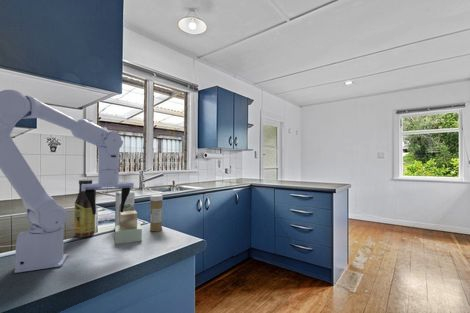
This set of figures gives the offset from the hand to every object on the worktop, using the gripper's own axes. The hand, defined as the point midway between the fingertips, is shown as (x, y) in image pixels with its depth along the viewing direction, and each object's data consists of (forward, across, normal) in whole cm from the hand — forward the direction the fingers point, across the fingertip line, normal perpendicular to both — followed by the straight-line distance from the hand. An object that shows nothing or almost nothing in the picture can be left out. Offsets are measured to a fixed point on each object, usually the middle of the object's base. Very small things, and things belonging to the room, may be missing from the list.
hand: (108, 212), depth 78 cm
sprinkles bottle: (+11, +16, +12) cm, 23 cm away
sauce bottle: (+11, -8, +15) cm, 20 cm away
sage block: (+10, +6, +5) cm, 13 cm away
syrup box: (+11, +5, +20) cm, 23 cm away
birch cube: (+6, +6, +5) cm, 10 cm away
